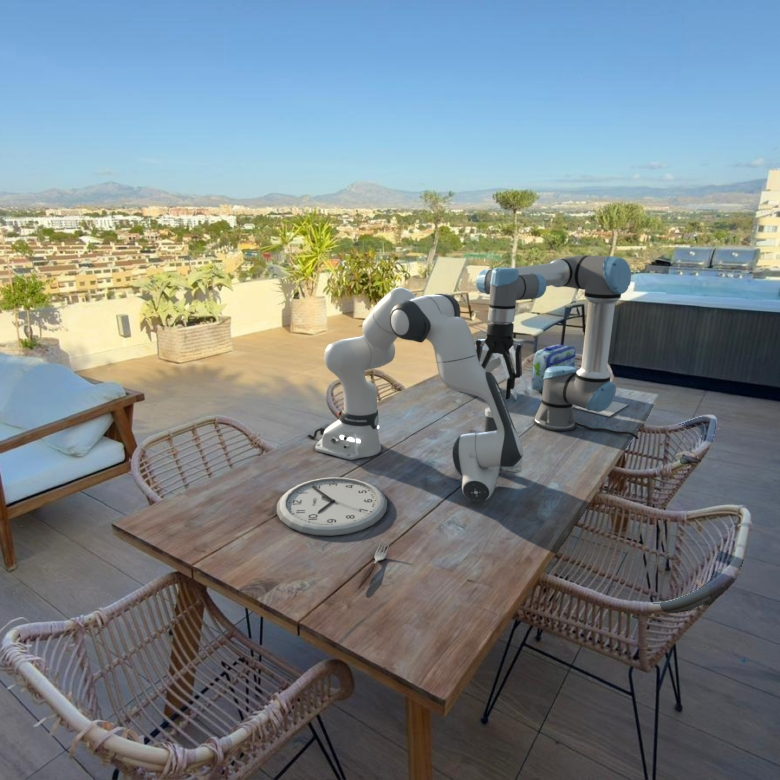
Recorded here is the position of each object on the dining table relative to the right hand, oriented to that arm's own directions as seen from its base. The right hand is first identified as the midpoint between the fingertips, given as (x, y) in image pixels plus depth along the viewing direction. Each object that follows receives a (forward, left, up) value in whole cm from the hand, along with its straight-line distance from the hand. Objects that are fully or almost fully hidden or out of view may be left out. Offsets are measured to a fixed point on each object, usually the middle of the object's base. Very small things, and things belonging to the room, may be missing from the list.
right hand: (494, 396), depth 159 cm
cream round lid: (0, 0, -5) cm, 5 cm away
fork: (+29, +56, -24) cm, 67 cm away
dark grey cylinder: (0, 0, -24) cm, 24 cm away
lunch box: (-35, -92, -24) cm, 101 cm away
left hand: (0, -1, -18) cm, 18 cm away
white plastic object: (0, -81, -24) cm, 85 cm away
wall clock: (+44, +30, -24) cm, 58 cm away
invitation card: (-52, -69, -24) cm, 90 cm away
